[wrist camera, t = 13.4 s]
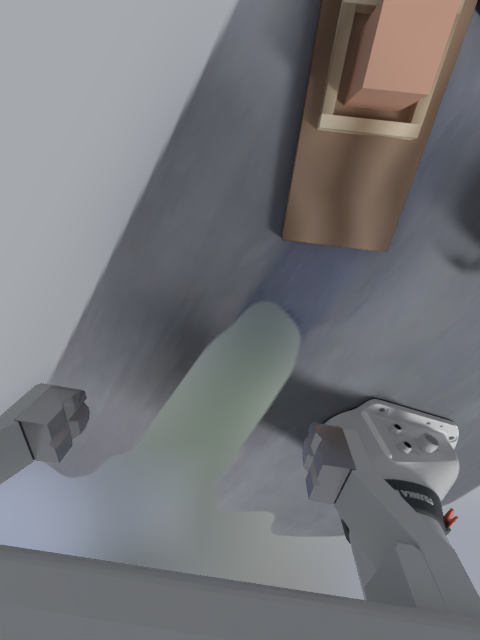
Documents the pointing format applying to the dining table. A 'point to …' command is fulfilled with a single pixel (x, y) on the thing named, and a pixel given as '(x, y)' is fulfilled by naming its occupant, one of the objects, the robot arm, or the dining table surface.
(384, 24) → the terracotta cube
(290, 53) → the dining table surface
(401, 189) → the assembly board
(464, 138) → the dining table surface
